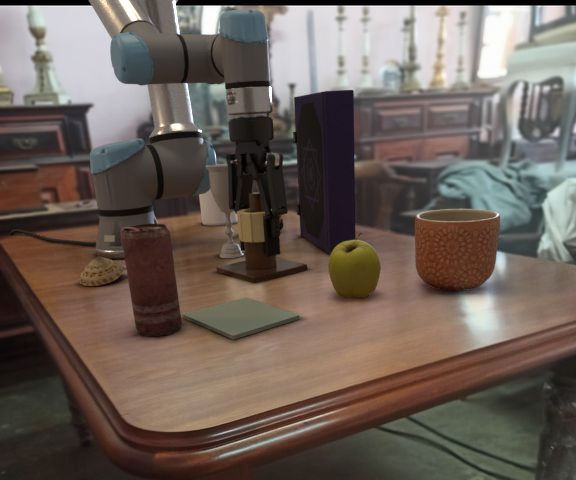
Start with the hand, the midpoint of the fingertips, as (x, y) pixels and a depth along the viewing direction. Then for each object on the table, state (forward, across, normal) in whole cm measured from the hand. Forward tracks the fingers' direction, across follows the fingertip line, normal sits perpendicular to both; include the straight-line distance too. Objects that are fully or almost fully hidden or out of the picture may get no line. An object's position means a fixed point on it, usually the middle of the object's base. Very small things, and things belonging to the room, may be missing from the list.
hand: (260, 251), depth 107 cm
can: (+4, +15, -29) cm, 33 cm away
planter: (+4, +32, +14) cm, 35 cm away
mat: (+4, +20, -18) cm, 27 cm away
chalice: (+4, -16, +4) cm, 17 cm away
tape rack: (+4, 0, 0) cm, 4 cm away
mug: (+4, -54, +27) cm, 60 cm away
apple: (+4, +24, 0) cm, 24 cm away
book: (+4, -9, +24) cm, 26 cm away
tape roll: (-2, 0, 0) cm, 2 cm away
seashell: (+4, -18, -23) cm, 29 cm away
